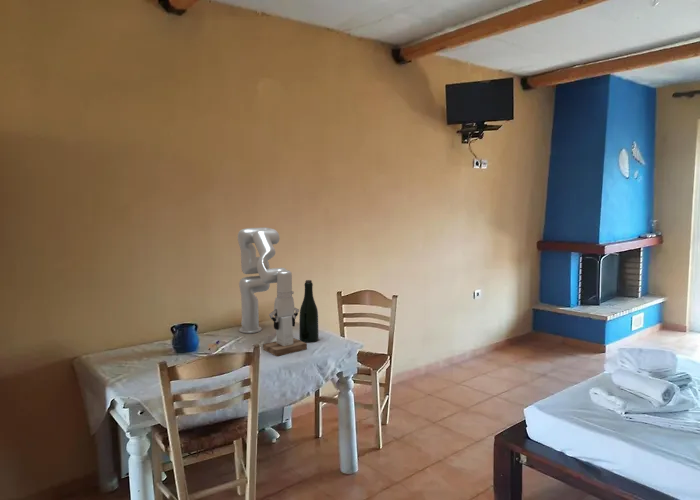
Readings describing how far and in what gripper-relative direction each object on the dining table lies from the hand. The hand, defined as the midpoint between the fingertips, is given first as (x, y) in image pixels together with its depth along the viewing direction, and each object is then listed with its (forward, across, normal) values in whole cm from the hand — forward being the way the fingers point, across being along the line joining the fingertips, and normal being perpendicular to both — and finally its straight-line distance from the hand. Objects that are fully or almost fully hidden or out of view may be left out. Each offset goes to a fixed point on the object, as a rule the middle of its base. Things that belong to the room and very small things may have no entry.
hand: (284, 327), depth 265 cm
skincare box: (+9, 0, 0) cm, 9 cm away
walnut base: (+11, 0, 0) cm, 11 cm away
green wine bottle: (+12, -19, -6) cm, 23 cm away
